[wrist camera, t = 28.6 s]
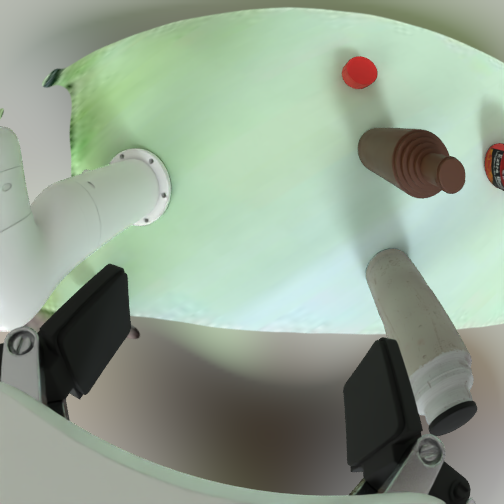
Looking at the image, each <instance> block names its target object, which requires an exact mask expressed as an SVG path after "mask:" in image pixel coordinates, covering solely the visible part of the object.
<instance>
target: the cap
mask: <svg viewBox="0 0 504 504" xmlns="http://www.w3.org/2000/svg"><path fill="white" fill-rule="evenodd" d="M342 77H343V80H344V81H345V83H346V84H347V85H348V86H350V87H352V88H355V89H362V88H364V87H367V86H369V85H370V84H372V83H373V82H374V81H375V80H376V78H377V69H376V67H375V65H374V63H373V62H372V61H370V60H369V59H367V58H365V57H361V56H357V57H353V58H352V59H350V60H349V61H348V63H347V64H346V65H345V66H344V67H343V70H342Z"/></svg>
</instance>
